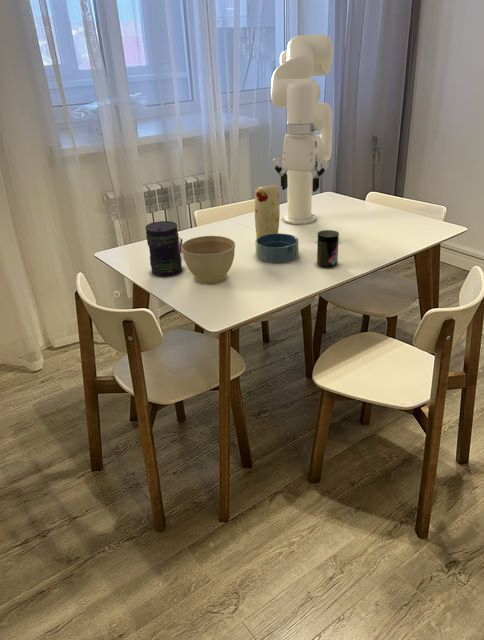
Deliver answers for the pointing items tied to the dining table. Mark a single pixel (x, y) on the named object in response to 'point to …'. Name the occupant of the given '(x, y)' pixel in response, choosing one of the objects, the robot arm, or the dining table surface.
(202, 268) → the planter bowl
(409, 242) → the dining table surface
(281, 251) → the basin
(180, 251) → the pink toy figurine
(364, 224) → the dining table surface
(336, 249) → the supplement container
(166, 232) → the storage jar
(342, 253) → the dining table surface
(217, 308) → the dining table surface
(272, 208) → the food model
